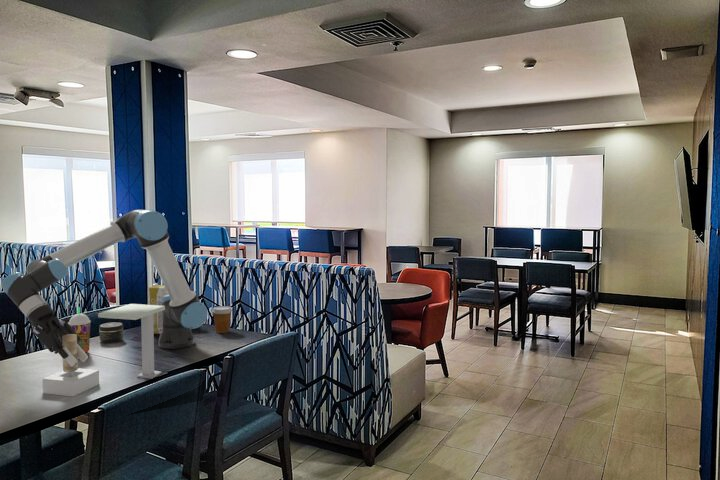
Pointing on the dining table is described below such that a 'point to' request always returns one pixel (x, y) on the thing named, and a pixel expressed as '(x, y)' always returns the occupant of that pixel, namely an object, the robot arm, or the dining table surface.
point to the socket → (70, 382)
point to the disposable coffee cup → (222, 318)
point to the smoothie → (81, 329)
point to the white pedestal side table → (146, 331)
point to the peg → (70, 344)
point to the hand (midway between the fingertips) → (79, 361)
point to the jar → (111, 332)
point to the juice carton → (156, 299)
